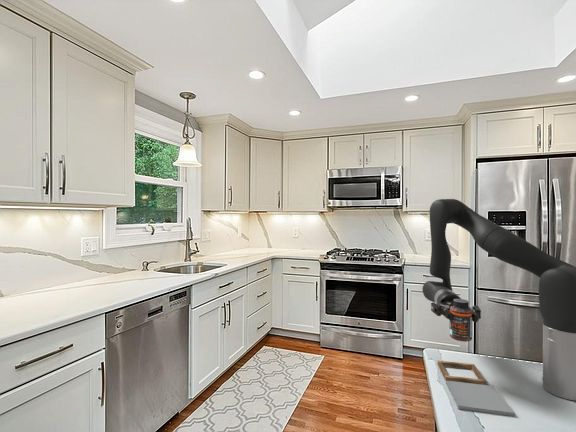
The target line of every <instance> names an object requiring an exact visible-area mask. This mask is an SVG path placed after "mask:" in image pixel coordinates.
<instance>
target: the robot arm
mask: <svg viewBox="0 0 576 432" xmlns="http://www.w3.org/2000/svg"><path fill="white" fill-rule="evenodd" d="M448 224H455V225H456V226H459V227H460V228H462V229H464V230H466V231H467V232H469V233H470V235H471V236H472V238H473V240H474V242H475V243H476V245H477V246H478V247H479V248H481V250H484V252H486V253H488V254H490V255H491V256H493V257H494V258H496V259H497V260H500V261H501V262H504V263H507V264H509V265H511V266H515V267H517V268H519V269H522V270H525V271H526V272H529V273H532V274H533V275H535V276H536V277H538V278H539V280H538V302H539V303H538V304H539V306H538V307H539V308H538V309H539V313H540V315H541V318H542V378H541V379H542V387H543V388H544V390H546V391H547V392H548V393H551V394H553V396H554V395H555V396H556V397H560V398H562V399H566V400H571V401H576V266H575V265H574V264H573V265H572V264H570V263H568V262H566V261H564V260H562V259H559V258H557V257H555V256H552V255H551V254H549V253H546V252H545V251H543V250H542V249H540V248H539V247H537V246H535V245H534V244H532V243H531V242H528V241H527V240H526V239H524V238H522V237H520V236H519V235H517V234H515V233H513V232H511V231H510V230H508V229H506V228H505V227H503V226H502V225H499V224H497V223H495V222H493V221H492V220H490V219H488V218H486V217H484V216H483V215H480V214H479V213H477V212H476V211H474V210H473V209H472V208H470V207H469V206H467V204H465V203H464V202H462V201H461V200H458V199H456V198H440V199H435V200H434V201H433V202H431V204H430V207H429V229H430V240H431V241H430V243H431V244H430V245H431V253H430V264H429V274H430V275H431V276H432V277H435V278H438V279H440V280H442V281H435V280H428V281H425V282H424V283H423V285H422V294H423V295H424V298H425V299H426V300H427V301H430V302H431V303H430V309H431V310H430V311H431V312H432V313H433V314H434V315H436V316H437V317H441V316H443V317H444V318H445V319H447V320H449V322H450V321H452V313H451V311H450V307H451V306H453V305H454V304H453V300H454V299H462V298H461V297H460V296H459V295H458V294H456V293H455V292H454V291H453V288H452V283H451V276H450V275H451V263H452V253H451V249H450V246H449V244H448V241H447V237H446V230H447V226H448ZM468 307H469V308H470V309H471V310H472V323H478V322H479V320H480V319H482V310H481V308H480V307H479V306H478V305H476V304H474V305H472V307H471V306H470V305H469V306H468Z"/></svg>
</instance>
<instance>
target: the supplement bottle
mask: <svg viewBox="0 0 576 432" xmlns="http://www.w3.org/2000/svg"><path fill="white" fill-rule="evenodd" d="M469 303H470V302H469V300H467V299H463V298H461V299H454V300H453V304H454V305H453V306H451V307H450V311H451V313H452V321H450V320H449V331H448V332H449V337H450V338H451V339H453V340H455V341H458V342H466V343H467V342H471V341H472V340H473V321H472V310H471V309H470V308H469V307H470V305H469ZM468 306H469V307H468Z"/></svg>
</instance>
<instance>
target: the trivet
mask: <svg viewBox="0 0 576 432" xmlns="http://www.w3.org/2000/svg"><path fill="white" fill-rule="evenodd" d="M445 385H446V388H447V389H448V391H449V392H450V395H451V397H452V398H453V399H452V400H453V401H454V404H455V405H456V407H457V409H459V410H464V411H465V410H466V411H473V412H480V413H487V414H494V415H495V414H496V415H503V416H509V417H510V416H511V417H515V412H514V411H513V409H512V408H511V406H509V404H508V403H507V402H506V400H505V399H504V397H503V396H502V395H501V394H500V392H499V391H498V389H497V388H496V387H495V386H494V385H488V384H487V385H481V384H472V383H463V382H454V381H445Z"/></svg>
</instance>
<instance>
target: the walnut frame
mask: <svg viewBox="0 0 576 432" xmlns="http://www.w3.org/2000/svg"><path fill="white" fill-rule="evenodd" d="M436 363H437V366H438V369H439V370H440V372H441V375H442V376H443V378H444V382H446V381H454V382H463V383H472V384H481V385H488V381H487V380H486V378H485V377H484V375H482V373H481V372H480V371H479V369H478V367H477V366H476V365H475V363H466V362H455V361H446V360H437V362H436ZM445 367H446V368H447V367H449V368H458V369H467V370H471V371H472V372H473V374H474V373H475V374H474V375H475V377H476V378H473V377H472V378H471V377H465V376H456V375H455V376H454V375H449V374H448V372H447V369H446V368H445Z"/></svg>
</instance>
